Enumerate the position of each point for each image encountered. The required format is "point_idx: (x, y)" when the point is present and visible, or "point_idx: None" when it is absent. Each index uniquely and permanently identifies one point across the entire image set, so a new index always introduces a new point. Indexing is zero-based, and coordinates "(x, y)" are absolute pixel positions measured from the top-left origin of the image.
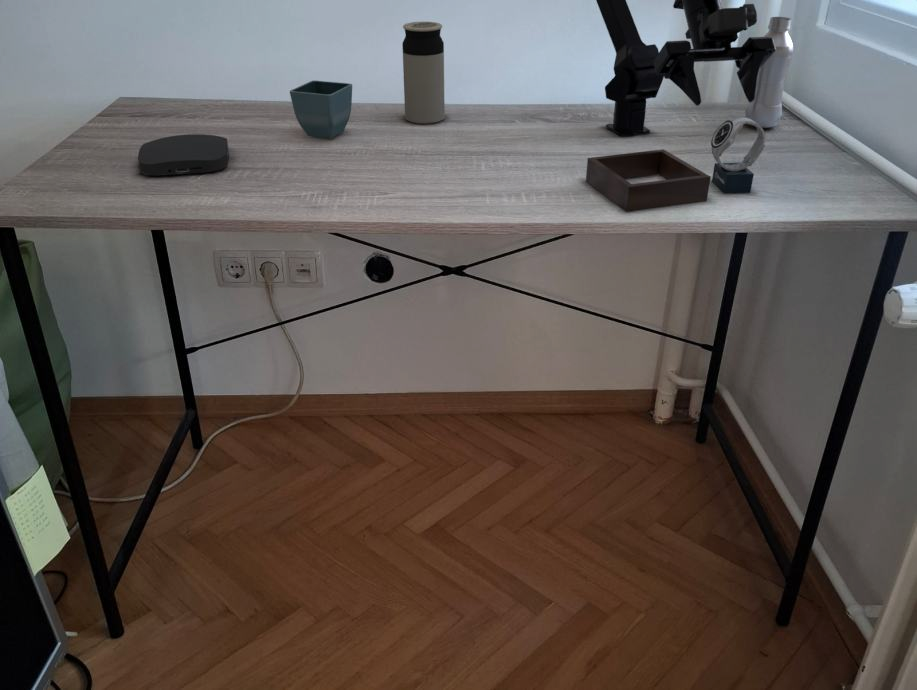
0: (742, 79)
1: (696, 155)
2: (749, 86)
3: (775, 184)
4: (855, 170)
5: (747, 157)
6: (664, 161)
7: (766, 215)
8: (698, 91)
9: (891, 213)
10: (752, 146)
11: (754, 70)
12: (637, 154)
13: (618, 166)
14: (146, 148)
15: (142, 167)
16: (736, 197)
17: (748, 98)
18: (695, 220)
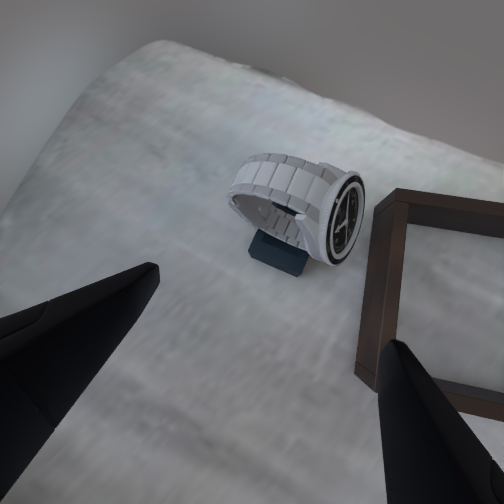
0: (56, 405)
1: (209, 419)
2: (115, 304)
3: (205, 212)
4: (37, 198)
5: (263, 214)
6: None
7: (325, 122)
8: (418, 383)
9: (159, 57)
10: (243, 214)
11: (2, 335)
12: (467, 396)
13: (500, 398)
14: None
15: None
16: None
17: (150, 292)
18: (448, 154)
